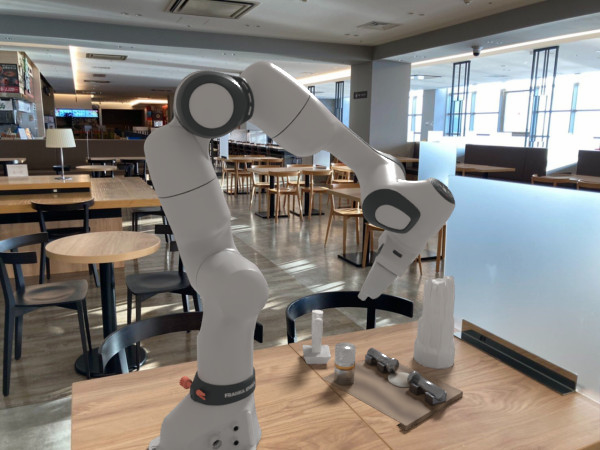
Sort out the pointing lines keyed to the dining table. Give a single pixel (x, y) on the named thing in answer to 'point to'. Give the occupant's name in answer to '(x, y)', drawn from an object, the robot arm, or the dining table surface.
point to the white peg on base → (316, 342)
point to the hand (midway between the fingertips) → (366, 286)
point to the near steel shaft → (426, 389)
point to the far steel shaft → (381, 361)
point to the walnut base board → (394, 393)
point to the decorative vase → (436, 325)
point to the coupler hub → (344, 364)
